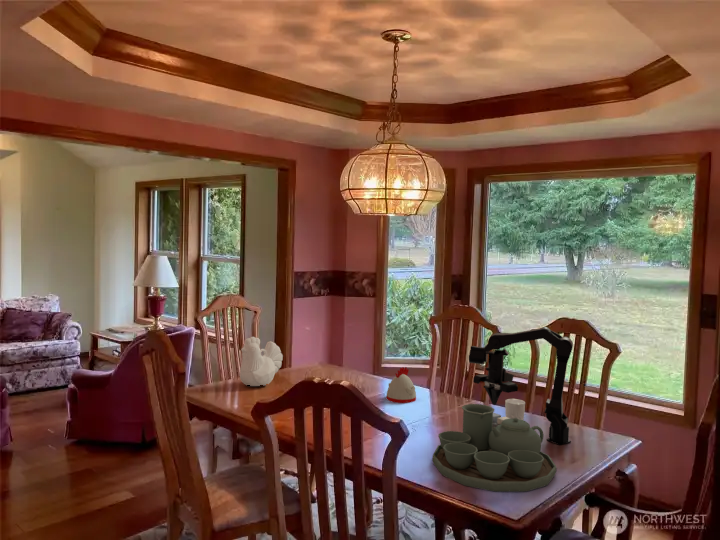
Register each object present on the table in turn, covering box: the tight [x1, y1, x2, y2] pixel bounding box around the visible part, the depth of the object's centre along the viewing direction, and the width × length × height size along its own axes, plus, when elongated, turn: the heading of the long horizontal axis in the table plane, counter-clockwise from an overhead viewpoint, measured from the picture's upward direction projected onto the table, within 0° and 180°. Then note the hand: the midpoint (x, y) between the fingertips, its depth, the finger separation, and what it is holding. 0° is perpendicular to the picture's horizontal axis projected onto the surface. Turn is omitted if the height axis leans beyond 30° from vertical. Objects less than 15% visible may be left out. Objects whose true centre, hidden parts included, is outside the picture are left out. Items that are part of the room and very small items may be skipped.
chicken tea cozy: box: [385, 366, 417, 404], centre depth 279 cm, size 14×14×15 cm
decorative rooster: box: [239, 336, 284, 387], centre depth 299 cm, size 25×16×25 cm, turn 126°
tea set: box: [431, 403, 557, 493], centre depth 199 cm, size 40×40×16 cm
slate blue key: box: [493, 412, 502, 422], centre depth 235 cm, size 4×4×3 cm
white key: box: [497, 416, 510, 425], centre depth 230 cm, size 4×4×3 cm
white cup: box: [504, 398, 526, 421], centre depth 244 cm, size 8×8×10 cm
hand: (494, 404), depth 235 cm, fingers closed
